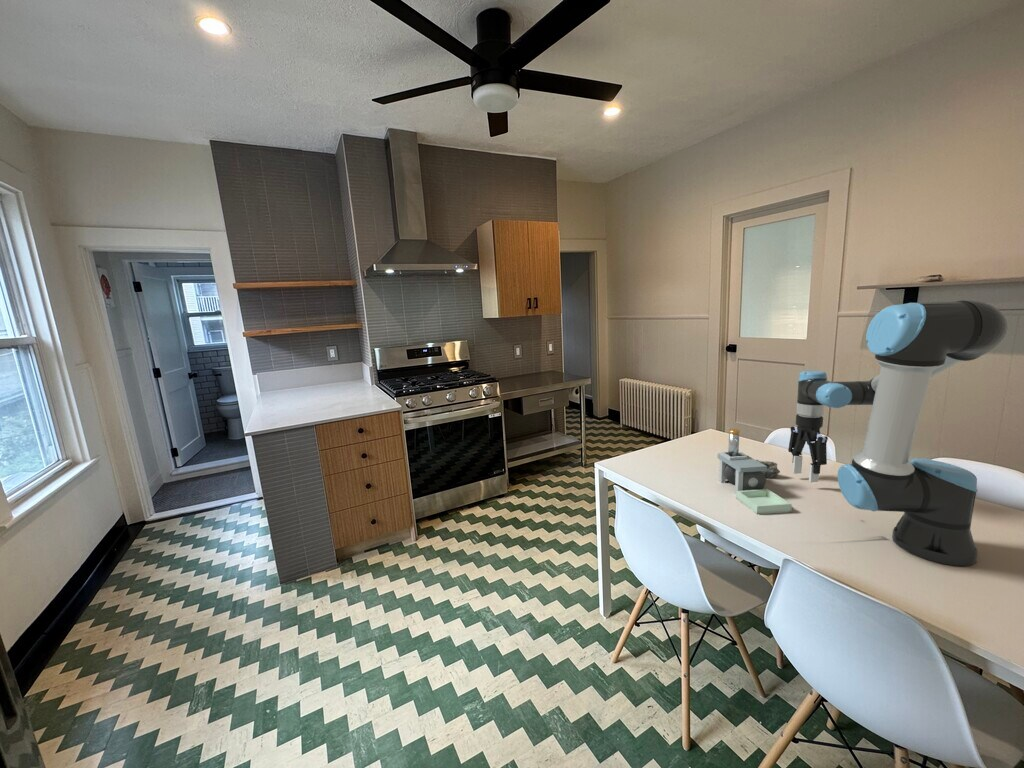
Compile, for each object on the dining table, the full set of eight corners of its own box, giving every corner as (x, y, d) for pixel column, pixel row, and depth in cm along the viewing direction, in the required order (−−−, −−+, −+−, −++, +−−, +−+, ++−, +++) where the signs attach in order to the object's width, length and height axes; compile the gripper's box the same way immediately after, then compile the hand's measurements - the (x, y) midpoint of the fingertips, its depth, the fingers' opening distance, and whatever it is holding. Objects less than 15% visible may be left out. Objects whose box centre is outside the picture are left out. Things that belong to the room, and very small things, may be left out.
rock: (745, 456, 146) (744, 463, 154) (744, 471, 144) (744, 478, 152) (781, 460, 140) (778, 467, 148) (781, 476, 138) (778, 483, 146)
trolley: (768, 495, 132) (770, 463, 130) (739, 497, 131) (740, 465, 130) (742, 478, 145) (744, 449, 144) (716, 480, 145) (717, 451, 143)
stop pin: (740, 458, 138) (741, 431, 136) (731, 458, 138) (732, 431, 136) (735, 454, 141) (736, 428, 140) (725, 455, 141) (726, 429, 140)
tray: (791, 512, 120) (791, 504, 120) (756, 514, 120) (757, 506, 120) (767, 496, 131) (768, 489, 131) (736, 498, 131) (736, 491, 130)
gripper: (845, 421, 125) (839, 488, 129) (798, 408, 144) (794, 466, 148) (822, 423, 125) (817, 489, 128) (778, 409, 144) (775, 467, 148)
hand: (804, 477), depth 138 cm, fingers open, 7 cm apart
